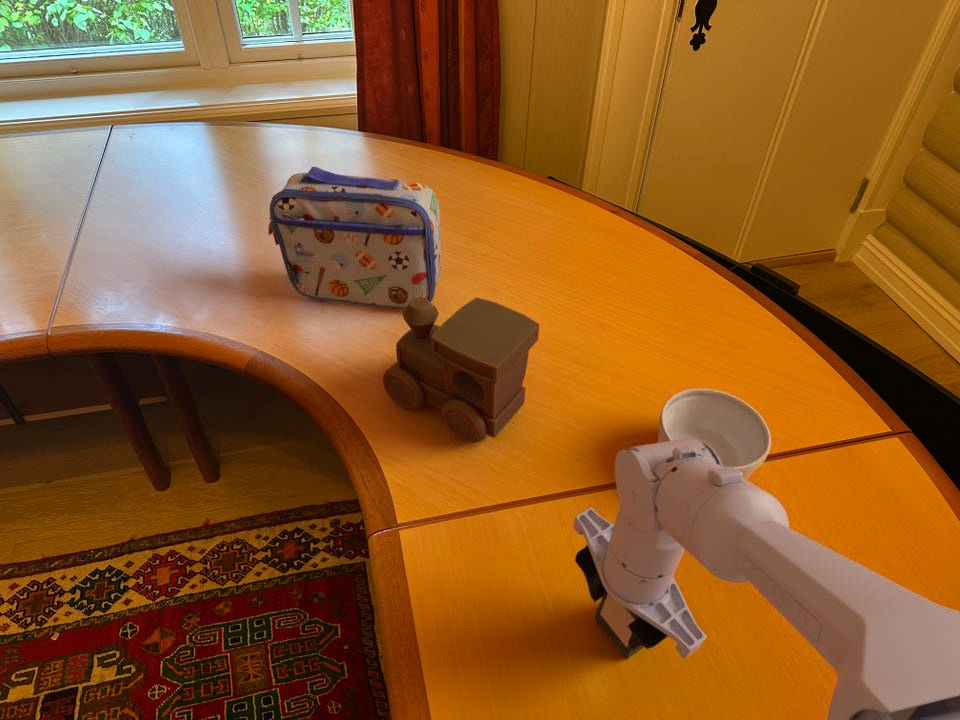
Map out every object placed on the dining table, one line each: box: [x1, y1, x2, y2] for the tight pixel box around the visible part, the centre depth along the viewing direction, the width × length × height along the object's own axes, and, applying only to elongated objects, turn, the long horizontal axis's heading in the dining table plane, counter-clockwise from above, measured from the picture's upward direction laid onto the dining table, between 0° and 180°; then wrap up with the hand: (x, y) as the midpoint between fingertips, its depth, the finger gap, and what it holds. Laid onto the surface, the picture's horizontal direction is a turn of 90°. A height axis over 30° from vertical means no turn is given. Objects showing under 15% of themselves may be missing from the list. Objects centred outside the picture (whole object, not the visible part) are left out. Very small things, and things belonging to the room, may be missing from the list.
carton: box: [594, 590, 645, 660], centre depth 60 cm, size 9×5×4 cm
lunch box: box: [267, 166, 442, 310], centre depth 98 cm, size 28×10×22 cm, turn 82°
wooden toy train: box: [382, 296, 540, 444], centre depth 81 cm, size 20×11×17 cm, turn 55°
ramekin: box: [656, 387, 772, 481], centre depth 77 cm, size 13×13×7 cm
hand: (619, 617), depth 59 cm, fingers closed on carton, 5 cm apart
